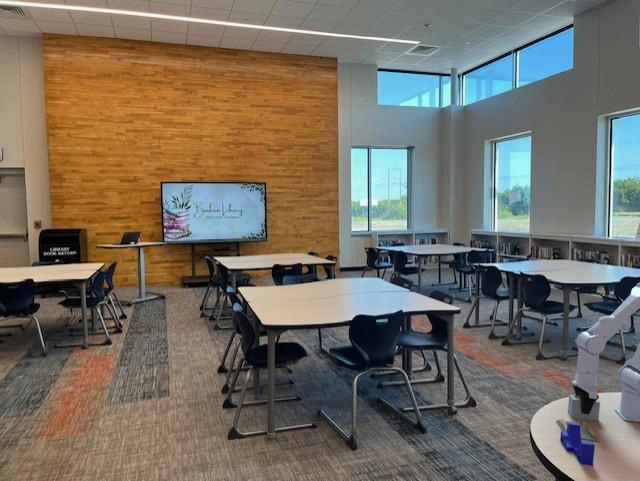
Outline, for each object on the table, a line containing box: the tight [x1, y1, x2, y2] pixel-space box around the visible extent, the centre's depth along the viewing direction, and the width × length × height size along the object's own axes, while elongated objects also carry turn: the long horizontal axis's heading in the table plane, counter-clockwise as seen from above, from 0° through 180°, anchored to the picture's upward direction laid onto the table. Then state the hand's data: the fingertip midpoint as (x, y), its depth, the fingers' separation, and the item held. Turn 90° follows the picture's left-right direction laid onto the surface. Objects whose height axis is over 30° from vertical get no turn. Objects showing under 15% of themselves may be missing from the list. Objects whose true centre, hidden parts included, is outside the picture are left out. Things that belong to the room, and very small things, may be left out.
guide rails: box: [558, 418, 598, 439], centre depth 142 cm, size 8×8×1 cm
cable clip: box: [560, 421, 596, 467], centre depth 131 cm, size 12×4×6 cm, turn 170°
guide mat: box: [555, 419, 600, 442], centre depth 143 cm, size 9×10×1 cm
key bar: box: [567, 394, 601, 421], centre depth 152 cm, size 8×4×6 cm, turn 78°
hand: (583, 410), depth 152 cm, fingers closed on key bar, 4 cm apart
